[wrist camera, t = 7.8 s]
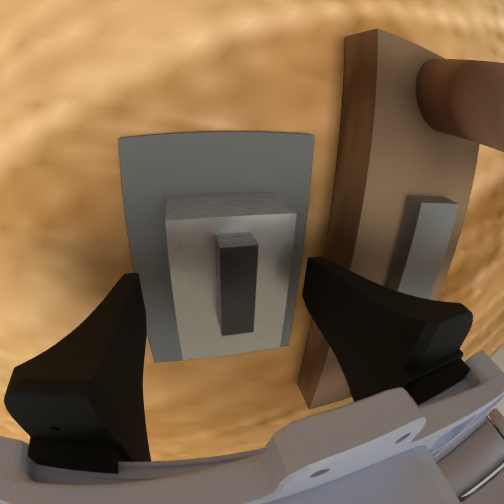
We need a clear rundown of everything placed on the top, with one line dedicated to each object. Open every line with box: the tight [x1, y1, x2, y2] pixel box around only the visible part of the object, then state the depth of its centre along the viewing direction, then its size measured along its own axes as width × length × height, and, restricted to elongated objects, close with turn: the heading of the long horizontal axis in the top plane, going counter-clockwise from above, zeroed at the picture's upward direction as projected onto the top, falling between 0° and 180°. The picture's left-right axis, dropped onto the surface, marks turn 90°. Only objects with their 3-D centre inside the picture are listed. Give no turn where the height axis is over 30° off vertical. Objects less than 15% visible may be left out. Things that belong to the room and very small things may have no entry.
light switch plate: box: [165, 191, 297, 360], centre depth 12 cm, size 6×4×4 cm
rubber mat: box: [119, 131, 314, 362], centre depth 14 cm, size 12×8×1 cm, turn 177°
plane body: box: [297, 29, 504, 409], centre depth 13 cm, size 22×8×7 cm, turn 177°
